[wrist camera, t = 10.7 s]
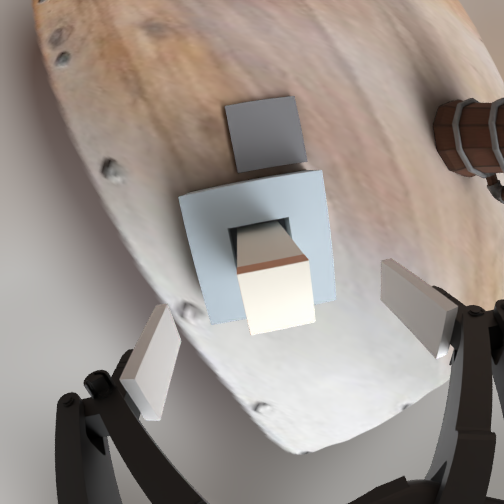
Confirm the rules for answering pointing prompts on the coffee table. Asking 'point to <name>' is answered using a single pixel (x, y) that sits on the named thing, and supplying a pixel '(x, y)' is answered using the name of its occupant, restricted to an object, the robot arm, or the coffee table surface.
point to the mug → (472, 140)
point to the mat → (266, 133)
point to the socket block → (251, 213)
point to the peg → (273, 279)
